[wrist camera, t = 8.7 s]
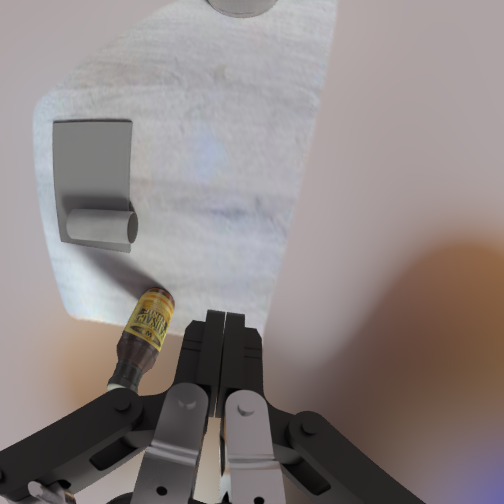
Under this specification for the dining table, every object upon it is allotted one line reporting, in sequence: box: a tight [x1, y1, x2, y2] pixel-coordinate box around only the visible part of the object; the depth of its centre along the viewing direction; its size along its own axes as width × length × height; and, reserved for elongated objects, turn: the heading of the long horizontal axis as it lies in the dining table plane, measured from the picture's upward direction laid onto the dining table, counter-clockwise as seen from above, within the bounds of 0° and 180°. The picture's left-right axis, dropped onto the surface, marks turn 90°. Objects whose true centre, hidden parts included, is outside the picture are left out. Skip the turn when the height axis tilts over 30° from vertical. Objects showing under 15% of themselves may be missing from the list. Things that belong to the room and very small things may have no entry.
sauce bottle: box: [107, 288, 175, 393], centre depth 40 cm, size 6×6×20 cm
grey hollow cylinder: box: [66, 209, 138, 244], centre depth 38 cm, size 4×4×10 cm
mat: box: [53, 122, 133, 253], centre depth 38 cm, size 20×14×1 cm
